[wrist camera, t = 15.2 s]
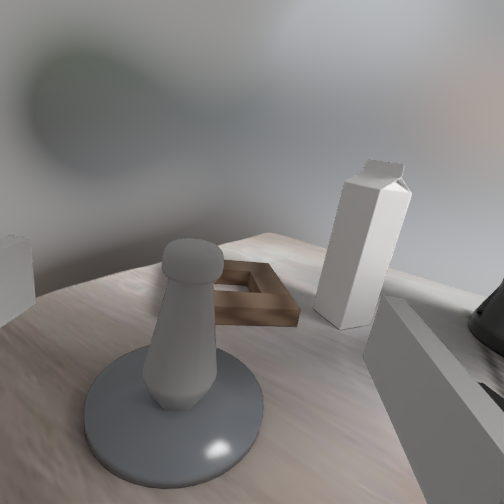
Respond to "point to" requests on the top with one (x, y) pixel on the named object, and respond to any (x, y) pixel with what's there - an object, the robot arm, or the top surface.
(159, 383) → the salt shaker
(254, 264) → the socket block
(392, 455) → the top surface
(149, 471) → the coaster
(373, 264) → the milk
